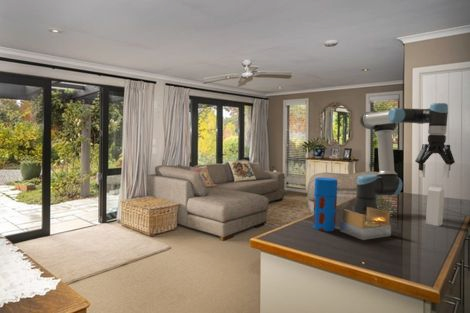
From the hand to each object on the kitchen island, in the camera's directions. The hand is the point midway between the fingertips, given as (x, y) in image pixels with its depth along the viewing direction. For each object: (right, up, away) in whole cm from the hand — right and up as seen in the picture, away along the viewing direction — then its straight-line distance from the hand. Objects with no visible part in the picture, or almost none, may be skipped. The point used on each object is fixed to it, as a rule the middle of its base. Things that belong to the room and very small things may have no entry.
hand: (433, 177), depth 157 cm
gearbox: (-37, -27, -7) cm, 46 cm away
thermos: (-55, -26, 0) cm, 61 cm away
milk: (+9, -27, +14) cm, 32 cm away
